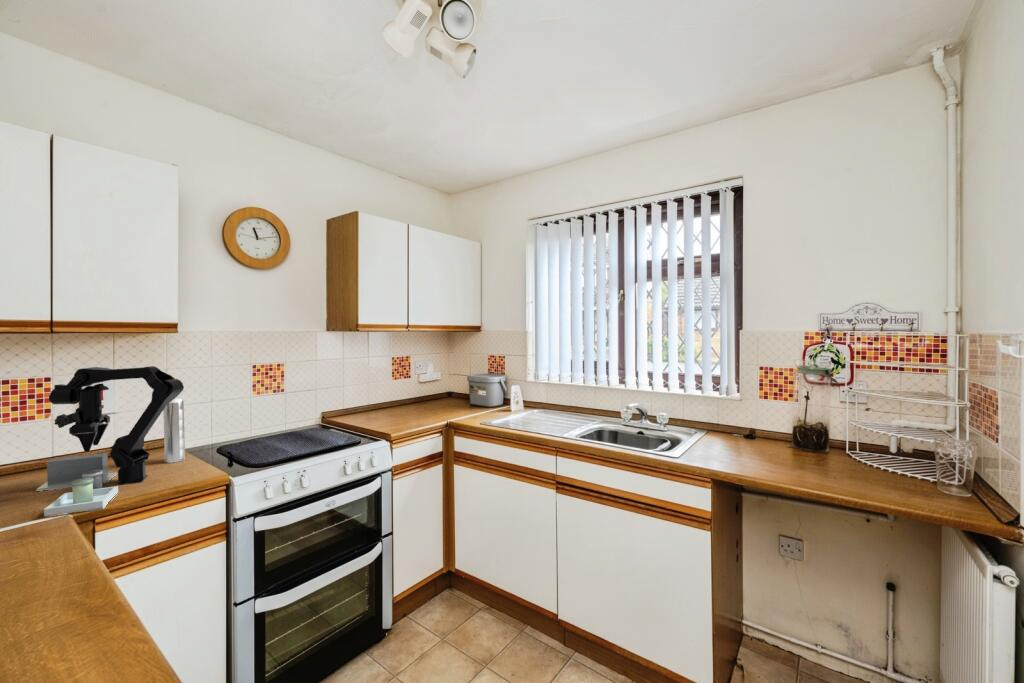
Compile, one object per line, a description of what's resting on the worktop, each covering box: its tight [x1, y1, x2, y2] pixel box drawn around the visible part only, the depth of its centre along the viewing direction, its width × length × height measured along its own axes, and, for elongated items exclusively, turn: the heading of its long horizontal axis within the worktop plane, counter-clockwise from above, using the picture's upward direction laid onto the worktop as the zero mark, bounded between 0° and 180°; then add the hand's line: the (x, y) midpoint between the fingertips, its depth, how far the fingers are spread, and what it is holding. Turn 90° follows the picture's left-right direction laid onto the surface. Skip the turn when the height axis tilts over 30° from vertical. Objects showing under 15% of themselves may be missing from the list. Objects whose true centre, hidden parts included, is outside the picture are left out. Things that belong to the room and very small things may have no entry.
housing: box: [36, 452, 118, 492], centre depth 151 cm, size 18×9×9 cm, turn 118°
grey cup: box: [82, 470, 103, 489], centre depth 141 cm, size 5×5×7 cm
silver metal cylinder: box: [162, 398, 186, 464], centre depth 176 cm, size 6×6×25 cm
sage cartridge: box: [71, 478, 94, 504], centre depth 132 cm, size 5×5×7 cm
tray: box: [43, 485, 119, 517], centre depth 132 cm, size 13×14×2 cm
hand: (91, 448), depth 151 cm, fingers open, 9 cm apart
